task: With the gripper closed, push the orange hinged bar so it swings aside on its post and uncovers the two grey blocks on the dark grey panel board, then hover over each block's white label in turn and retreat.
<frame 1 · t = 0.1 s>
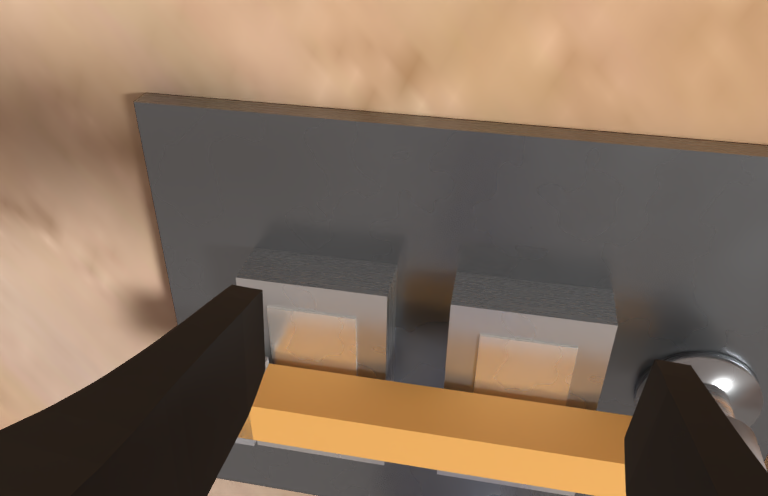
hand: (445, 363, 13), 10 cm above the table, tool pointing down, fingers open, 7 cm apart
dark grey panel board: (464, 349, 26), on the table
orange wooden bar: (467, 432, 22), point 4 cm above the table, hinge at 0.0°
psu 1: (519, 356, 25), resting on dark grey panel board
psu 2: (333, 331, 26), resting on dark grey panel board
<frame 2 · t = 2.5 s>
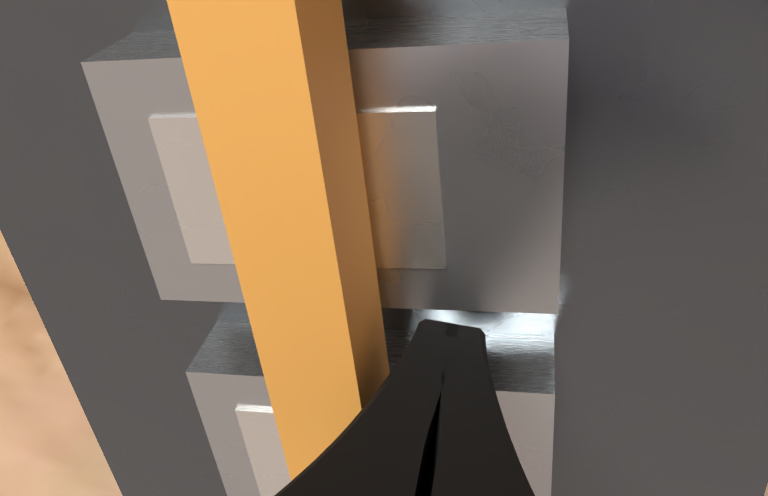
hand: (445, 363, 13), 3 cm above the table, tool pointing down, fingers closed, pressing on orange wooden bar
dark grey panel board: (371, 217, 15), on the table
orange wooden bar: (320, 311, 12), point 4 cm above the table, hinge at 0.0°, touching gripper
psu 1: (360, 133, 14), resting on dark grey panel board
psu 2: (392, 384, 18), resting on dark grey panel board
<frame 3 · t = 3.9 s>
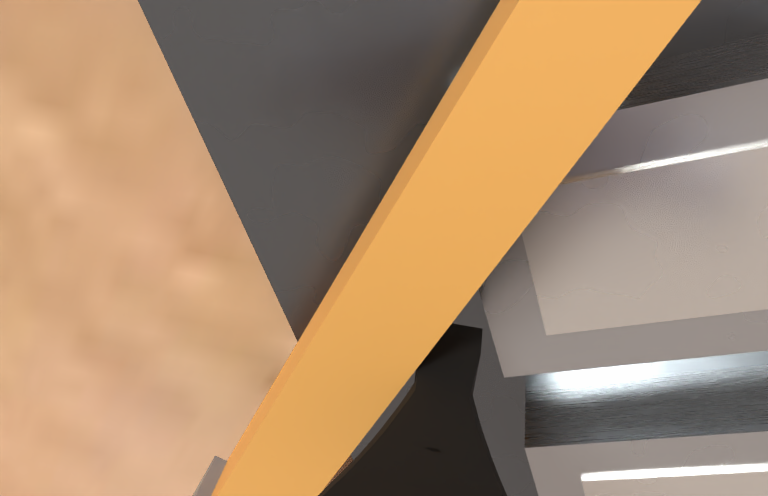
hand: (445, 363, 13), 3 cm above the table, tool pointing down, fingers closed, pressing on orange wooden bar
dark grey panel board: (696, 252, 14), on the table
orange wooden bar: (382, 304, 11), point 4 cm above the table, hinge at 44.4°, touching gripper
psu 1: (688, 166, 13), resting on dark grey panel board
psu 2: (713, 424, 17), resting on dark grey panel board
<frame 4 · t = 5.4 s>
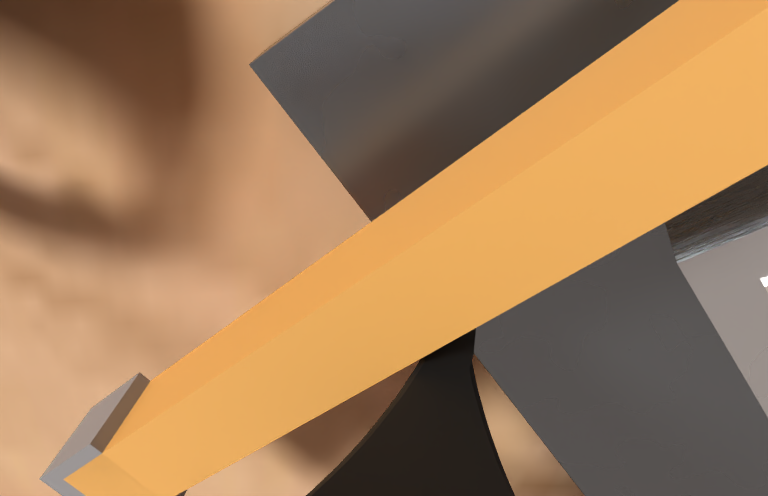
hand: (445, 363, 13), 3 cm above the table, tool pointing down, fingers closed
orange wooden bar: (404, 280, 11), point 4 cm above the table, hinge at 83.3°, touching gripper
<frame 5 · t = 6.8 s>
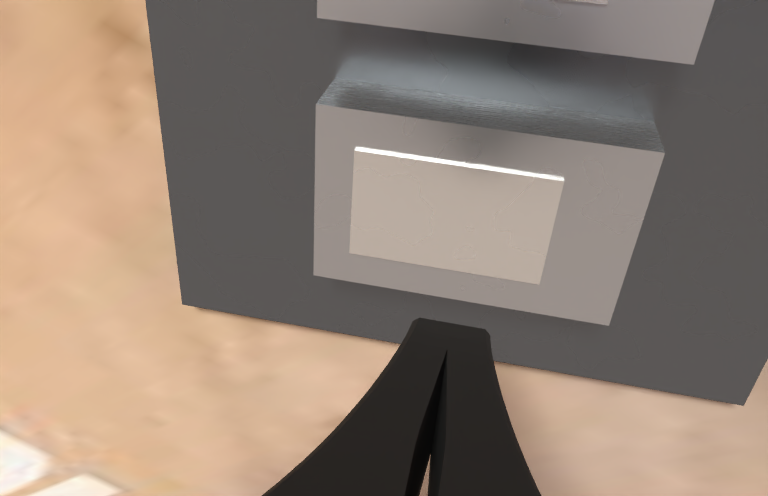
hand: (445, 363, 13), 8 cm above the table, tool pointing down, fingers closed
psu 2: (478, 173, 19), resting on dark grey panel board
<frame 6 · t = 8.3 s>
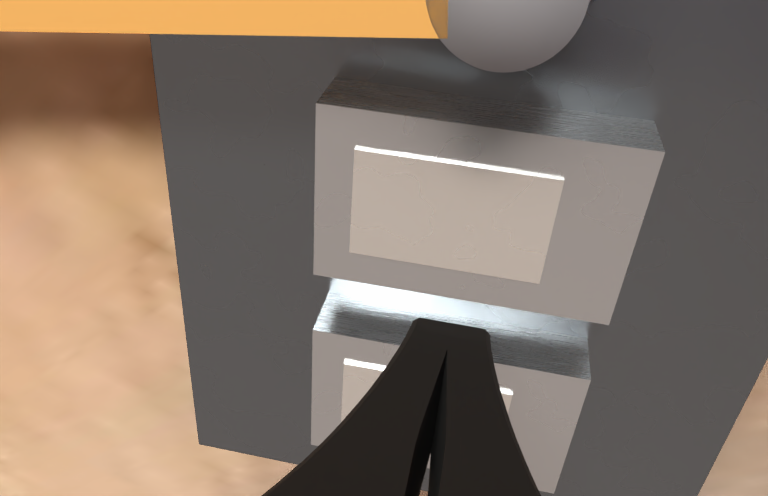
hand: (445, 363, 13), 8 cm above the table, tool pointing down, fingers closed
dark grey panel board: (468, 233, 20), on the table
psu 1: (478, 173, 19), resting on dark grey panel board
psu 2: (448, 358, 23), resting on dark grey panel board
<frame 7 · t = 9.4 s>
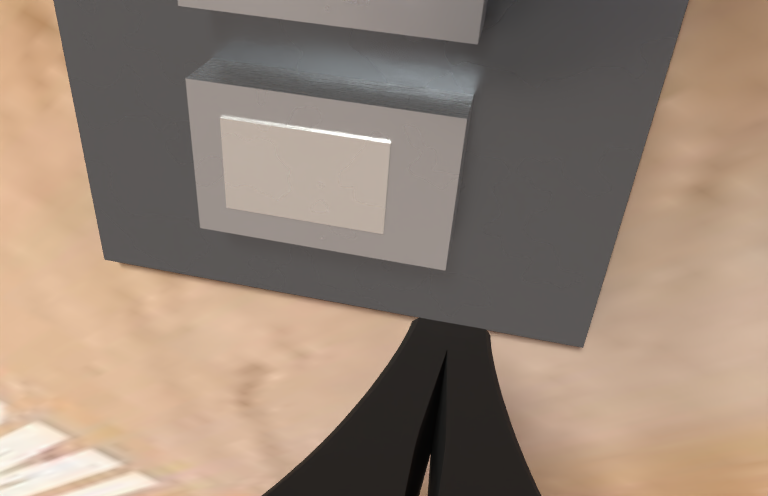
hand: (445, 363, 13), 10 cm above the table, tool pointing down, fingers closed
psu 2: (343, 142, 22), resting on dark grey panel board
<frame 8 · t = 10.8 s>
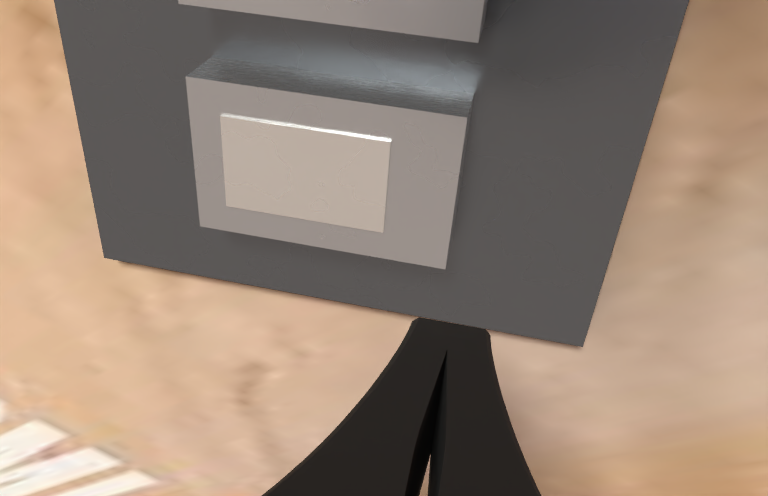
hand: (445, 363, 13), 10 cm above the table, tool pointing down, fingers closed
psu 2: (343, 140, 22), resting on dark grey panel board
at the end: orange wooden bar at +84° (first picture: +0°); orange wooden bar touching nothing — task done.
